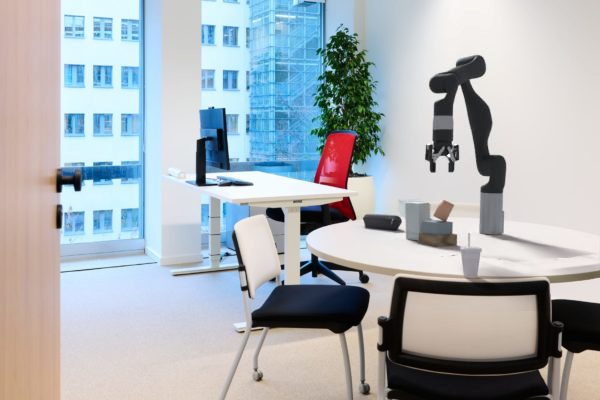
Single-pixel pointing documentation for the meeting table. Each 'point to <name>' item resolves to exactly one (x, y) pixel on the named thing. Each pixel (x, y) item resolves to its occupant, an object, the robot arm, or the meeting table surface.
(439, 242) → the tower base
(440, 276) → the meeting table surface
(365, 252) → the meeting table surface
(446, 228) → the tower top
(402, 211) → the long grey block
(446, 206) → the peach capsule
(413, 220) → the skincare box
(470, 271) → the smoothie
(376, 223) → the glasses case
